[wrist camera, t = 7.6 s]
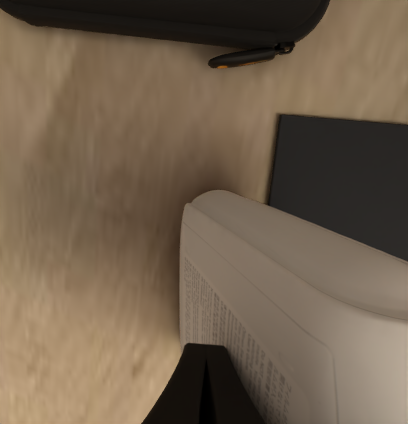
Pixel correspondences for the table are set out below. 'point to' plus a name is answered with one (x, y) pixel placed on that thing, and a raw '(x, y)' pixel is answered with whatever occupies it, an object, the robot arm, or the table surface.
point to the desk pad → (344, 178)
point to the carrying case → (186, 22)
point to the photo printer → (296, 312)
